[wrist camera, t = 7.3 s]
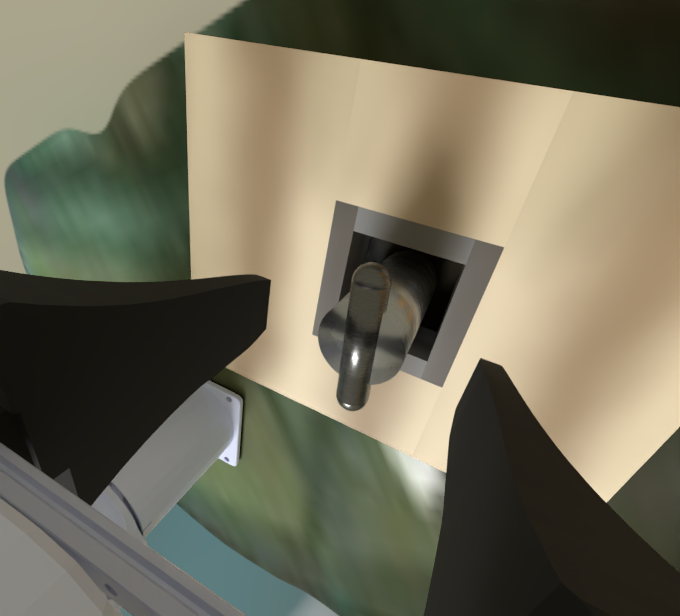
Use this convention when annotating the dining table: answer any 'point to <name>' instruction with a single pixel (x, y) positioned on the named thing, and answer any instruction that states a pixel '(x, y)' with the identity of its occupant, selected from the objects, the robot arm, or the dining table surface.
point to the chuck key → (376, 323)
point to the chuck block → (449, 238)
